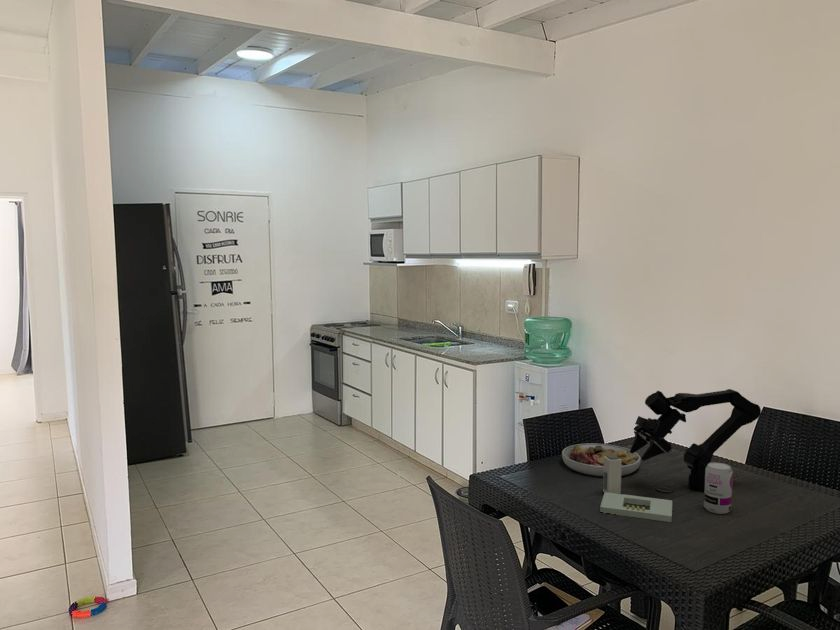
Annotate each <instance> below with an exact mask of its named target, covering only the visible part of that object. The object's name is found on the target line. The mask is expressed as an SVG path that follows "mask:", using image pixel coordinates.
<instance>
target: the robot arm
mask: <svg viewBox="0 0 840 630" xmlns="http://www.w3.org/2000/svg"><path fill="white" fill-rule="evenodd" d="M728 403H729V404H730V405H731V406H733V408H732V409H731V410H732V411H731V414H730V417H728V418H727V420H725V421H724V422H723V423H722V424H721V425H720V426H719V427H718V428H717V429H716V430H715V431H714V432H713V433H712V434H710V435H709V437H708V438H706V439H705V441H704V442H702V443H700V444H697V443H694V442H693V443H692V444H691V445H690V446H689V447H688V448H686V449H685V452H684V454H683V462H684V463H685V464H686V466H687V469H690V473H688V484H687V485H688V487H689V490H690V491H695V492H705V469H706V467H707V465H708V464H709V463H712V458H713V455H714V454H715V452H716V451H718V450H719V448H720V447H722V445H724V444H725V443H726V442H727V441H728V440H729V439H730V438H731V437H732V436H733V435H734V434H735V433H736V432H737V431H739V430H740V429H741V427H743V426H747V425H749V424H751V423H753V422H754V421H756V420H757V419H759V418H760V416H761V415H762V413H761V412H762V409H761V407H760V405H759V404H756V403H754V402H752V401H750V400H749V399H747V398H746V397H745V396H743V395H742V394H740V392H739V391H737V390H734V389H731V388H729V389H728V388H727V389H725V390H718V391H711V392H705V393H698V394H697V393H689V392H688V393H687V392H678V393H675V394H674V396H669V397H666V396H665V394H664V393H663V392H662V391H661V390H656V392H654V393H651V394H650V395H648V396H647V397H646V399H645V401H644V404H645V405H646V406H647V407H648V408H649V409H650V410H651V411H652V412H653V413H654V414H655V415H657V416H659V415H660V416H659V417H658V418H650V417H648V418H645V417H642V416H641V415H640V416H639V415H638V416H637V419H636V421H635V423H634V424H635V427H634V428H633V434H634V441H633V443H632V445H631V448H630V453H634V452H636V453H637V452H638V451H639V450H640V449H642V448H644V447H645V446H647V445H648V444H649V445H648V447H647V449H646V451H645V452H644V453H643V455H642V456H641V457H640V458H641V461H643V462H644V461H647V460H650V459H651V458H654V457H656V456H659V455H660V456H661V455H662V454H665V453H670V452H671V450H672V444H671V443H670V442H668V440H666V439H665V437H666V436H667V435H668V434H670V435H671V434H672V433H673V431H672V430H673V428H674V427H675V426H676V425H677V424H678V423H679V422H680V421H681V422H683V423H686V422H687V418H686V414H685V413H691V412H694V411H697V410H699V409H700V408H702V407H707V406H714V405H720V404H728ZM672 407H673V408H672ZM679 410H680V411H681V412H682V413H681V412H680V411H679Z"/></svg>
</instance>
